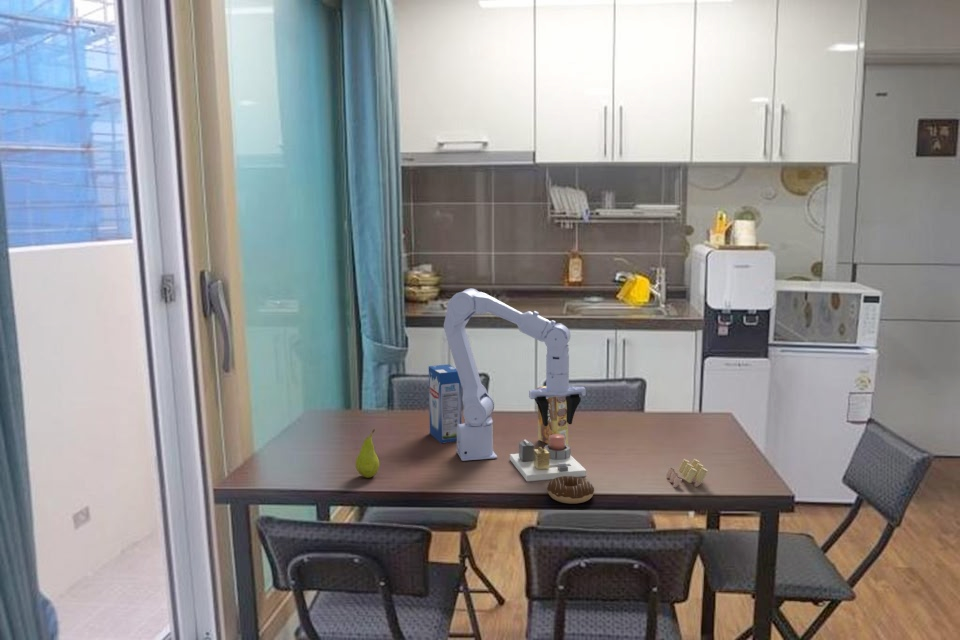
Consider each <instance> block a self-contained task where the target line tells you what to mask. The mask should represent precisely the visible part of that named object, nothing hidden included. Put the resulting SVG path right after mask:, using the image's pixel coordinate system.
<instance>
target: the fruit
mask: <svg viewBox="0 0 960 640" xmlns="http://www.w3.org/2000/svg"><path fill="white" fill-rule="evenodd" d="M371 431H372V432H371V434H370V436H367V437H366V438H365V439H364V440H363V443H362V445H361V448H360V450H359V453H358V455H357V456H356V460H355V465H354V466H355V468H356V472H357V473H359V474H360V475H361V476H362V477H363V478H367V479H369V478H372V477H373V476H375V475H376V474H377V473H378V471H379V468H380V460H379V457H378V455H377V453H376V452H375V446H374V443H373V439H372V438H373V434H374V432H375V431H376V429H375V428H373V429H372V430H371Z"/></svg>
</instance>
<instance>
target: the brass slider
mask: <svg viewBox="0 0 960 640" xmlns="http://www.w3.org/2000/svg"><path fill="white" fill-rule="evenodd" d="M534 466H535V467H536V468H537V469H538V470H539V469H549V452H548V451H547V450H546V449H545V448H544V447H543V448H542V446H538V448H534Z"/></svg>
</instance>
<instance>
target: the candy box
mask: <svg viewBox="0 0 960 640" xmlns="http://www.w3.org/2000/svg"><path fill="white" fill-rule="evenodd" d="M541 388H546V385H544V386H540V387H537V388H536V389H541ZM546 399H547V401H548V402H549V406H548V426H544V425H543V422H542V417H541V413H540V410H539V408H538V405H537V404H536V405H537V406H536V407H537V433H538V435H537V436H538V437H537V439H538V441H541V442H542V443H545V444H546V445H548V444H549V436H550V435H553V434H561V435H564V436H565V445H568V446H569V427H568V426H569V425H568V423H567V418H566V417H567V404H566V396H561V397H546Z"/></svg>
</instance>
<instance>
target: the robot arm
mask: <svg viewBox="0 0 960 640" xmlns="http://www.w3.org/2000/svg"><path fill="white" fill-rule="evenodd" d="M484 313H485V314H486V313H488V314H489V313H490V314H492V315H494V316H496V317H499V318H501V319H504V320H506V321H508V322H510V323H513V324H514V325H517V328H518V331H519V332H521V333H523V334H525V335H526V336H528V337H531V338H533V339H535V340H536V341H539V342H540V343H542V342H543V343H544V344H545V346H546V363H545V365H546V366H545V367H546V369H545V371H546V372H545V373H546V374H545V376H546V377H545V378H546V379H545V380H546V381H545V384H546V385H545V386H546V388H541V389H537V388H535V389H529V390H528V397H529V399H530V400H534V401H535V402H536V403H535V404H536V405H538V408H539V410H540V413H541V417H542V422H543V425H544V426H548V406H549V402H548V401H547V399H546V397H561V396H566V404H567V417H566V418H567V423H568V424H569V425H572V424H573V419H574V416H575V413H576V411H577V408H578V407H579V405H580V403H581V402H582V401H581V397H583V396H584V397H585V396H587V395H586V393H587V392H586V391H587V390H586V388H585V387H584V386H570V385H569V383H570V355H569V350H570V349H569V341H570V339H571V332H570V329H569V328H568V327H567V326H566V325H565V324H563V323H559V322H558V323H556V320H553V319H552V320H549V319H547V318H545V317H543V316H541V315H539V314H540V313H539V311H536V310H534V311H533V312H532V311H530V310H527V311H526V312H521V311H519V310H518V309H515V308H514V307H512V306H510V305H508V304H506V303H504V302H503V301H501V300H498V299H497V298H495V297H493V296H491V295H489V294H488V293H485V292H484V291H483V292H482V291H478V290H477V289H476V288H466V289H464V290H463V291H460V292H457V293H455V294H453V296H451V298H450V299H449V301H448V302H447V304H446V314H445V316H444V317H445V318H444V323H443V329H444V334H445V336H446V340H447V342H448V347H449V349H450V352H451V356H452V359H453V362H454V366H455V368H456V369H457V372H458V376H459V379H460V382H461V390H462V397H461V402H462V405H463V410H462V416H463V419H464V420H465V422H463V423H461V424H458V425H457V441H456V454H457V455H458V456H459V458H460V460H461V461H462V462H465V461H466V462H467V461H477V460H488V459H497V458H498V455H497V454H496V453H495V451H494V440H493V439H494V438H493V437H494V433H493V431H494V430H493V427H494V426H493V424H494V422H493V418H492V416H491V415H492V413H493V412H494V410H495V401H494V399H493V398H492V397H491V396H490V394H489V393H488V390H487V388H486V387H485V386H484V385H483V384H482V381H481V377H480V375H479V371H478V367H477V365H476V360H475V358H474V354H473V351H472V348H471V344H470V341H469V337H468V334H467V332H466V325H467V324H468V322H469V320H470V319H471V317H473V315H474V314H475V315H477V314H478V315H479V314H484ZM580 396H581V397H580Z"/></svg>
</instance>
